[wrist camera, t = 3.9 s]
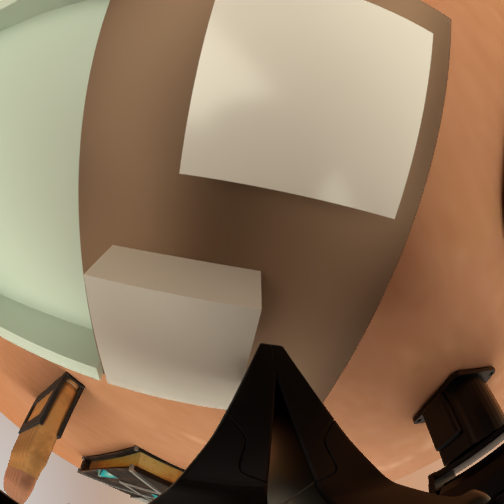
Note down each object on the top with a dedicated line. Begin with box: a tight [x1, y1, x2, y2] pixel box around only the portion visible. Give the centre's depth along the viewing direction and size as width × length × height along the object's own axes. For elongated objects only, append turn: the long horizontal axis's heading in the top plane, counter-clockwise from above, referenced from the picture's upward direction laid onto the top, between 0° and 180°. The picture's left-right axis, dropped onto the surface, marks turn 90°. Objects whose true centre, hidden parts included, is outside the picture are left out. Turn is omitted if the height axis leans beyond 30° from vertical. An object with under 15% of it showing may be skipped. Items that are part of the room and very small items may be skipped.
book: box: [78, 445, 185, 504], centre depth 24 cm, size 22×17×5 cm
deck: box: [78, 0, 451, 403], centre depth 9 cm, size 11×18×2 cm, turn 169°
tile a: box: [84, 245, 262, 410], centre depth 9 cm, size 5×5×2 cm
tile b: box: [179, 0, 433, 219], centre depth 6 cm, size 5×5×2 cm
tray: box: [0, 0, 110, 380], centre depth 8 cm, size 11×18×3 cm, turn 169°
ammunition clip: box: [4, 372, 85, 504], centre depth 12 cm, size 11×2×12 cm, turn 129°
